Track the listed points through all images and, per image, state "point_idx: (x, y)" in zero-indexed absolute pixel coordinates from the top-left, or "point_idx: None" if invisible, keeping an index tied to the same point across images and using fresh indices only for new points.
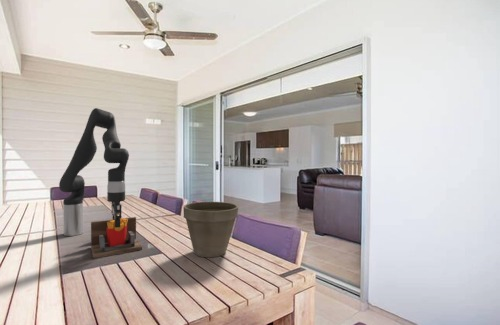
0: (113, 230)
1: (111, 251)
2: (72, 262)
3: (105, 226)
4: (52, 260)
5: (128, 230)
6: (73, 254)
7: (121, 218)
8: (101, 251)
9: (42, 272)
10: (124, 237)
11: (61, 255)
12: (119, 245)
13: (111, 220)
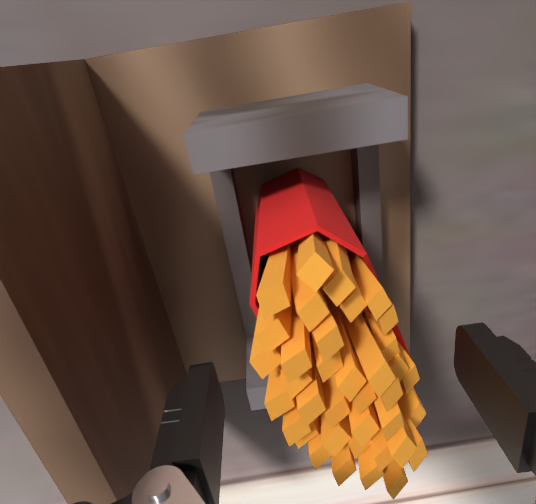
0: (409, 354)
1: (403, 262)
2: None
3: (130, 428)
4: (326, 485)
5: (73, 166)
6: (271, 431)
7: (293, 371)
8: None
9: (473, 483)
10: (335, 202)
11: (262, 470)
12: (373, 221)
13: (86, 439)
